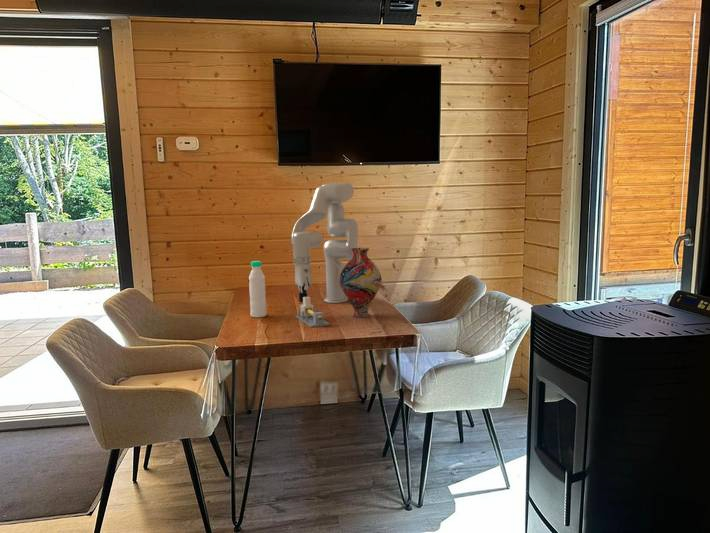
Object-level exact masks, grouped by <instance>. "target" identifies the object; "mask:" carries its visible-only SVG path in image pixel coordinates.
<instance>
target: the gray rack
mask: <svg viewBox="0 0 710 533" xmlns="http://www.w3.org/2000/svg"><path fill="white" fill-rule="evenodd" d="M313 309H314V311H312V310H310V309H309V308H305V310H306V312H307V313H309V314H310V315H312V316H308V314H306V317H304V311H302V315H301V308H300V309H299V308H298V309H297V311H298V313H297V314H298V315H295V318H296V319H298V320H299V321H301V322H302V323H303V324H305V325H307V326H308V327H310V328H316V327H317V328H318V327H325V326H326V327H327V326H330V322H328V321H326V320H324V313H323V312H322V311H319V309H315V307H314V306H313ZM315 310H316V312H315Z"/></svg>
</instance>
